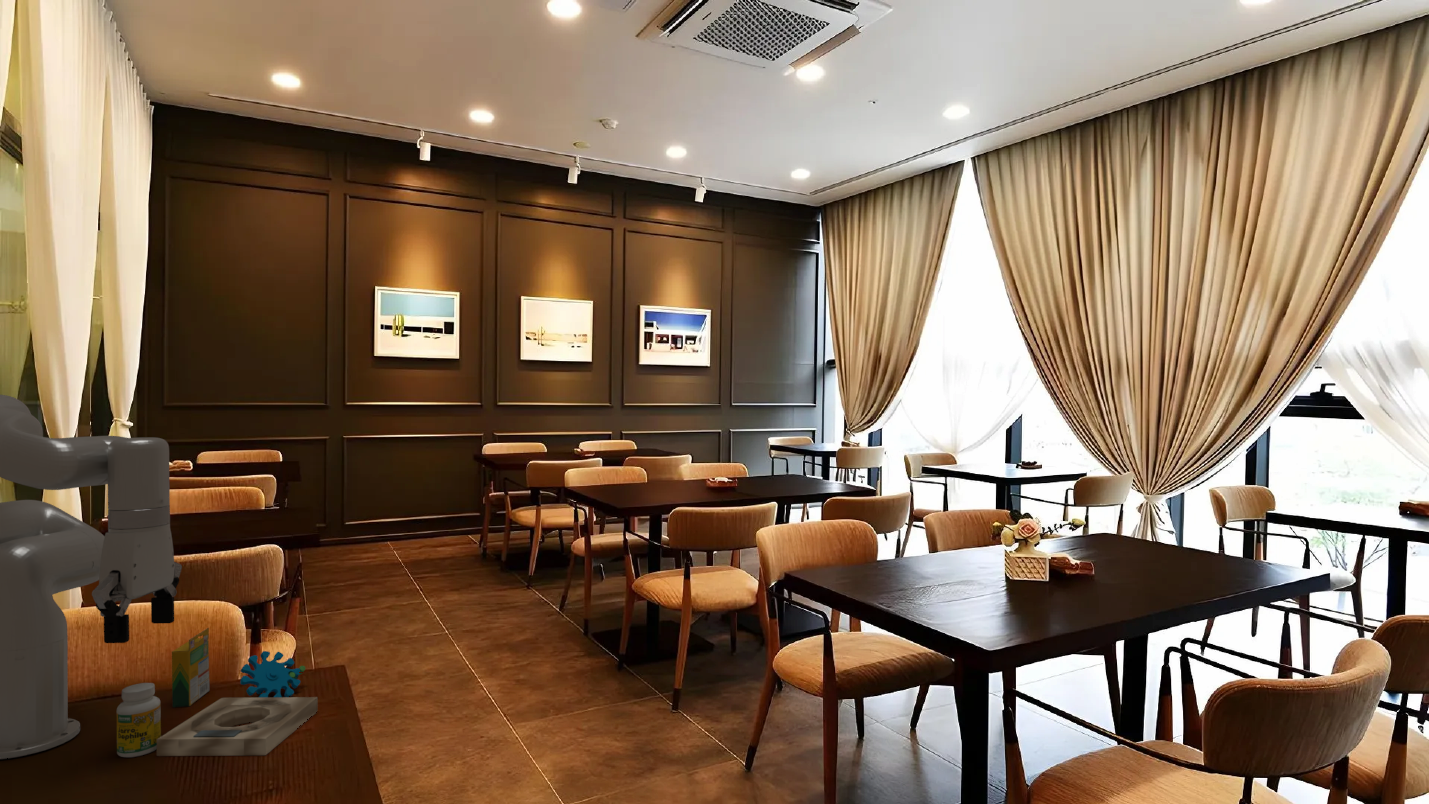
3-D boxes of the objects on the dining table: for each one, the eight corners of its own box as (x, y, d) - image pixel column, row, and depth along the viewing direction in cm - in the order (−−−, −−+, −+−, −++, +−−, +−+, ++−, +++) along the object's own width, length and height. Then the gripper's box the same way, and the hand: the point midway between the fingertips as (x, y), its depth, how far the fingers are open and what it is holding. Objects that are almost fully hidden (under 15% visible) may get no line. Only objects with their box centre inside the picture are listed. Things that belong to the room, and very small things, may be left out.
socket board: (156, 756, 115) (156, 738, 115) (222, 712, 131) (222, 696, 131) (265, 755, 116) (265, 737, 116) (317, 711, 132) (317, 695, 132)
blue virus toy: (249, 703, 131) (237, 652, 136) (235, 722, 133) (223, 671, 138) (314, 692, 140) (300, 644, 145) (299, 710, 142) (286, 663, 147)
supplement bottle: (166, 740, 121) (166, 679, 120) (151, 756, 115) (151, 692, 115) (126, 744, 119) (126, 682, 119) (109, 760, 114) (109, 695, 114)
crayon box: (192, 691, 140) (192, 628, 140) (210, 690, 141) (210, 627, 141) (170, 707, 133) (170, 640, 133) (189, 706, 134) (190, 639, 134)
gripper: (154, 511, 126) (155, 616, 126) (68, 529, 108) (69, 651, 108) (201, 510, 126) (202, 616, 126) (122, 528, 108) (123, 650, 109)
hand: (140, 632), depth 117 cm, fingers open, 9 cm apart
